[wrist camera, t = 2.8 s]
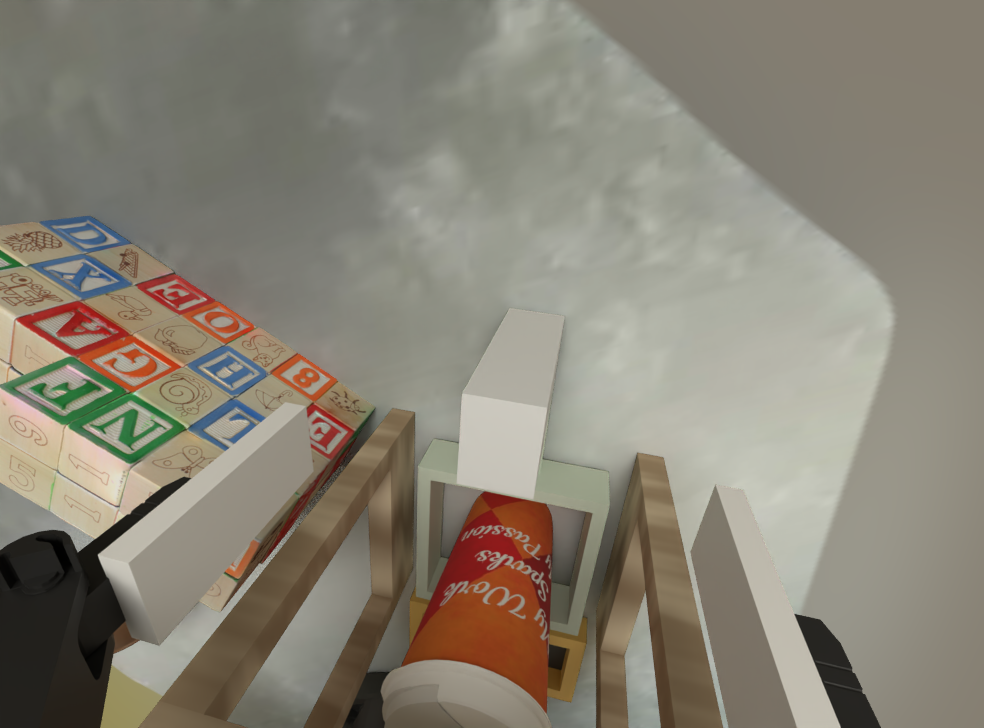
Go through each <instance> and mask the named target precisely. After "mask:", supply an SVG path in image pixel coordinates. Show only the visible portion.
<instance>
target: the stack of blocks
mask: <svg viewBox="0 0 984 728" xmlns="http://www.w3.org/2000/svg"><path fill="white" fill-rule="evenodd" d="M285 402H287V403H292V404H298V405H303V406H306V409H307V418H308V426H309V435H310V444H311V453H312V461H313V470H314V471H313V472H312V474H311V475H310V476H309V477H308V478H307V479H306V480H305V482H304V483H303V484H302V485H301V486H300V487H299V488H298V489H297V491H296V492H295V493H294V494H293V495H292V496H291V497H290V498H289V500H288V501H287V502H286V503H285V504H284V505H283V506H282V508H281V509H280V510H279V511H278V512H277V513H276V514H275V515H274V517H273V518H272V519H271V520H270V521H269V522H268V523H267V525H266V526H265V527H264V528H263V529H262V530H261V531H260V532H259V534H258V535H257V536H256V537H255V538H254V539H253V540H252V541H251V543H250V544H249V545H248V546H247V547H246V548H245V549H244V551H243V552H242V553H241V554H240V555H239V556H238V557H237V558H236V560H235V561H234V562H233V563H232V564H231V565H230V566H229V568H228V569H227V570H226V571H225V572H224V573H223V574H222V575H221V577H220V578H219V579H218V580H217V581H216V582H215V583H214V584H213V586H212V587H211V588H210V589H209V590H208V591H207V592H206V594H205V595H204V596H203V597H202V598H201V599H200V600H199V601H200V602H201V603H203V604H205V605H206V606H208V607H209V608H211V609H213V610H215V611H217V612H221V611H222V610H223V608H224V607H225V606H226V605H227V603H228V602H229V601H230V599H231V598H232V597H233V596H234V594H235V593H236V592H237V591H238V589H239V588H240V587H241V586H242V584H243V583H244V582H245V581H246V579H247V578H248V577H249V576H250V574H251V573H252V572H253V571H254V569H255V568H256V567H257V565H258V564H259V563H261V564H262V563H263V562H264V561H265V560H266V559H267V557H268V556H269V555H270V554H271V553H272V551H273V550H274V549H275V547H276V546H277V545H278V544H279V542H280V541H281V540H282V539H283V537H284V536H285V535H286V533H287V532H288V531H289V530H290V528H291V527H292V525H293V524H294V522H295V521H296V519H297V518H298V517H299V516H300V514H301V513H302V512H303V510H304V509H305V508H306V507H307V505H308V504H309V503H310V501H311V500H312V499H313V497H314V496H315V495H316V494H317V492H318V491H319V490H320V489H321V488H322V486H323V485H324V484H325V483H326V481H327V480H328V479H329V478H330V476H331V475H332V474H333V473H334V471H335V470H336V469H337V468H338V467H339V465H340V464H341V462H342V461H343V459H344V457H345V456H346V454H347V453H348V451H349V450H350V448H351V446H352V445H353V443H354V442H355V440H356V438H357V436H358V434H359V433H360V431H361V429H362V428H363V426H364V425H365V423H366V422H367V420H368V419H369V417H370V416H371V414H372V412H373V411H374V410H375V407H374V406H373V405H372V404H370V403H369V402H367V401H366V400H364V399H363V398H361V397H360V396H358V395H357V394H356V393H354V392H353V391H351V390H350V389H348V388H347V387H345V386H344V385H342V384H341V383H339V382H338V381H337V380H336V379H335V378H334V377H332V376H331V375H329V374H328V373H326V372H325V371H323V370H322V369H321V368H319V367H318V366H316V365H315V364H313V363H312V362H310V361H309V360H307V359H306V358H304V357H303V356H301V355H300V354H298V353H297V352H295V351H294V350H292V349H291V348H290V347H288V346H287V345H285V344H284V343H282V342H281V341H279V340H278V339H276V338H275V337H273V336H272V335H270V334H269V333H267V332H266V331H264V330H263V329H261V328H259V327H256V326H254V325H253V324H252V323H250V322H248V321H246V320H245V319H244V318H242V317H240V316H239V315H238V314H236V313H235V312H233V311H232V310H230V309H229V308H227V307H226V306H224V305H223V304H221V303H220V302H217V301H215V300H214V299H213V298H211V297H209V296H208V295H206V294H205V293H204V292H202V291H201V290H199V289H198V288H196V287H195V286H193V285H191V284H190V283H189V282H187V281H186V280H184V279H183V278H181V277H180V276H178V275H175V274H174V272H173V271H172V270H171V269H170V268H168V267H167V266H165V265H164V264H162V263H161V262H159V261H157V260H156V259H154V258H153V257H152V256H150V255H149V254H147V253H146V252H144V251H143V250H141V249H140V248H138V247H137V246H135V245H133V244H131V243H130V242H129V241H128V240H126V239H125V238H123V237H122V236H120V235H119V234H117V233H116V232H114V231H113V230H111V229H109V228H108V227H106V226H105V225H103V224H102V223H100V222H99V221H97V220H96V219H94V218H93V217H91V216H82V217H74V218H65V219H58V220H48V221H40V222H38V223H35V222H29V223H21V224H13V225H5V226H0V482H1V483H2V484H4V485H6V486H7V487H9V488H11V489H12V490H14V491H16V492H17V493H19V494H20V495H22V496H24V497H26V498H27V499H29V500H31V501H32V502H34V503H36V504H37V505H39V506H41V507H43V508H44V509H46V510H50V511H51V512H52V513H54V514H55V515H57V516H58V517H59V518H61V519H62V520H64V521H66V522H67V523H69V524H71V525H73V526H74V527H76V528H78V529H80V530H81V531H83V532H85V533H86V534H88V535H89V536H91V537H93V538H95V539H96V538H97V537H99V536H100V535H101V534H102V533H104V532H105V531H106V530H108V529H109V528H110V527H111V526H113V525H114V524H115V523H117V522H118V521H119V520H120V519H122V518H123V517H124V516H126V515H127V514H130V513H131V511H132V510H133V509H135V508H136V507H137V506H138V505H140V504H141V503H145V500H146V499H147V498H149V497H150V496H151V495H153V494H154V493H155V492H156V491H158V490H159V489H160V488H162V487H163V486H165V485H167V484H169V483H171V482H174V481H176V480H178V479H180V478H182V477H188V478H193V477H194V476H195V475H197V474H198V473H199V472H200V471H202V470H203V469H204V468H205V467H206V466H208V465H209V464H210V463H211V462H213V461H214V460H215V459H216V458H218V457H219V456H220V455H221V454H222V453H224V452H225V451H226V450H227V449H229V448H230V447H231V446H232V445H234V444H235V443H236V442H237V441H238V440H240V439H241V438H242V437H243V436H245V435H246V434H247V433H248V432H250V431H251V430H252V429H253V428H254V427H256V426H257V425H258V424H259V423H261V422H262V421H263V420H264V419H266V418H267V417H268V416H269V415H270V414H272V413H273V412H274V411H275V410H277V409H278V408H279V407H280V406H281V405H283V404H284V403H285Z"/></svg>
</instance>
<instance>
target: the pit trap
mask: <svg viewBox="0 0 984 728" xmlns="http://www.w3.org/2000/svg"><path fill="white" fill-rule="evenodd" d="M429 602H430V600H427V599H423V598H419V597H416V587H415V589H414V592H413V594H412V596H411V599H410V643H409V647H410V645H411V643H412V641H413V638H414V636H415V634H416V632H417V629H418V627H419V625H420V622H421V620H422V618H423V616H424V613H425V611H426V609H427V607H428V604H429ZM586 644H587V618H585V617H582V621H581V625H580V629H579V633H578V636H575V635H571V634H567V633H563V632H559V631H555V630H551V629H550V634H549V660H548V687H547V696H548V697H552V698H556V699H559V700H563V701H567V702H571V701H572V697H573V694H574V690H575V686H576V682H577V678H578V674H579V671H580V667H581V663H582V659H583V655H584V651H585V648H586Z"/></svg>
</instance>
